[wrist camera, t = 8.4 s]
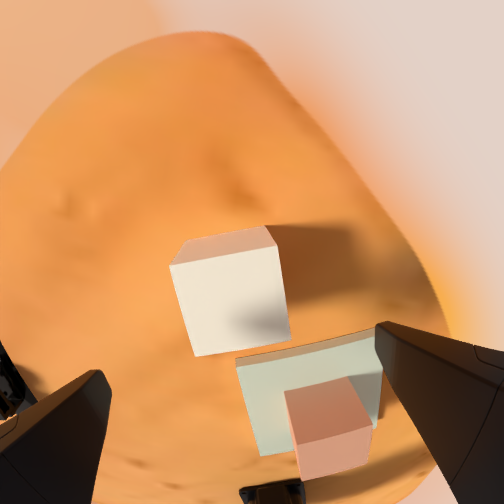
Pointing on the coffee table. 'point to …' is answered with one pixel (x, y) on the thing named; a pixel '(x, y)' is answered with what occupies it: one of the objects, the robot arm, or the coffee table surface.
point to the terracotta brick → (328, 428)
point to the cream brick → (231, 291)
